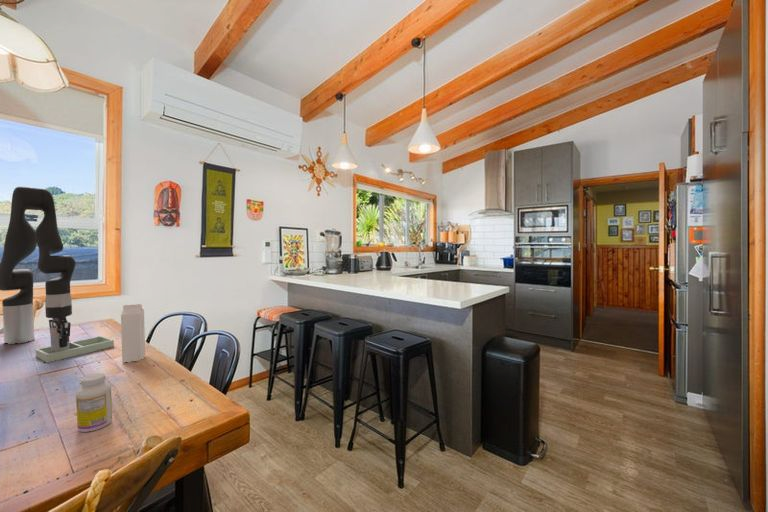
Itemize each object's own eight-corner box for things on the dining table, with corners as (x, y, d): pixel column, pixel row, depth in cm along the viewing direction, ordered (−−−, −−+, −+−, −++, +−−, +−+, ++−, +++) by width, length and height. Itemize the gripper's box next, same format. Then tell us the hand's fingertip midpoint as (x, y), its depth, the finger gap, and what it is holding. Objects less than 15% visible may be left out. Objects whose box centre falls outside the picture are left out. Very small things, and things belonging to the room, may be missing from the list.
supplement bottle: (92, 418, 85) (90, 371, 85) (118, 417, 86) (117, 371, 85) (69, 434, 79) (67, 382, 78) (98, 432, 79) (96, 382, 79)
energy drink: (73, 353, 133) (72, 324, 133) (59, 357, 128) (58, 328, 127) (62, 352, 134) (60, 324, 133) (47, 357, 128) (46, 327, 128)
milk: (141, 361, 126) (139, 305, 124) (121, 363, 123) (120, 306, 122) (145, 356, 131) (144, 302, 130) (127, 357, 129) (125, 303, 127)
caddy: (36, 356, 129) (35, 349, 129) (101, 342, 147) (100, 335, 147) (47, 362, 123) (47, 354, 123) (113, 346, 142) (113, 339, 142)
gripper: (38, 304, 130) (40, 345, 131) (53, 308, 123) (54, 351, 124) (63, 301, 137) (65, 340, 137) (78, 304, 130) (80, 346, 131)
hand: (60, 345), depth 131 cm, fingers closed on energy drink, 5 cm apart
